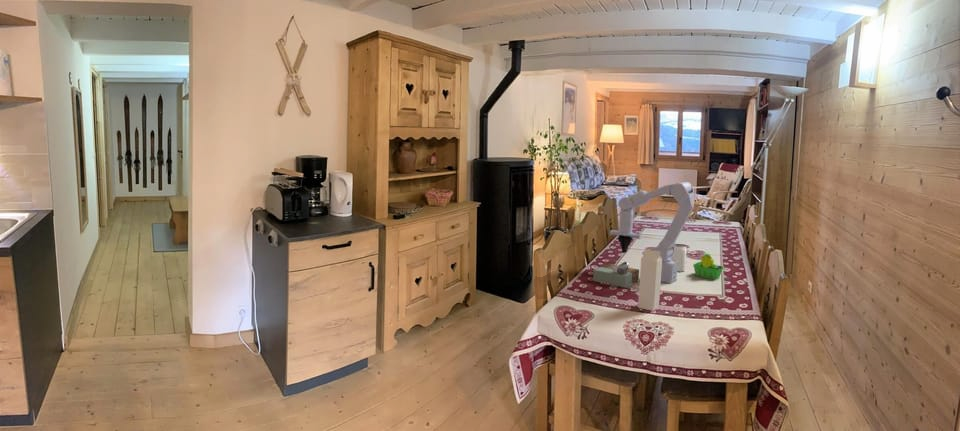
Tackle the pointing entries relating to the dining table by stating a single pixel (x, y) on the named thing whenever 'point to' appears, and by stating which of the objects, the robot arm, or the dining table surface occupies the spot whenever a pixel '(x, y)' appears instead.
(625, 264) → the lock bar
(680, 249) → the can
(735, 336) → the dining table surface
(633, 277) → the jamb
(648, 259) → the milk
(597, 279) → the grey-green rectangular block
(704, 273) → the fruit basket
